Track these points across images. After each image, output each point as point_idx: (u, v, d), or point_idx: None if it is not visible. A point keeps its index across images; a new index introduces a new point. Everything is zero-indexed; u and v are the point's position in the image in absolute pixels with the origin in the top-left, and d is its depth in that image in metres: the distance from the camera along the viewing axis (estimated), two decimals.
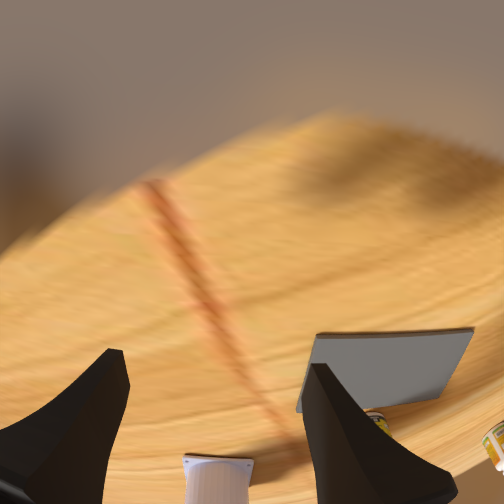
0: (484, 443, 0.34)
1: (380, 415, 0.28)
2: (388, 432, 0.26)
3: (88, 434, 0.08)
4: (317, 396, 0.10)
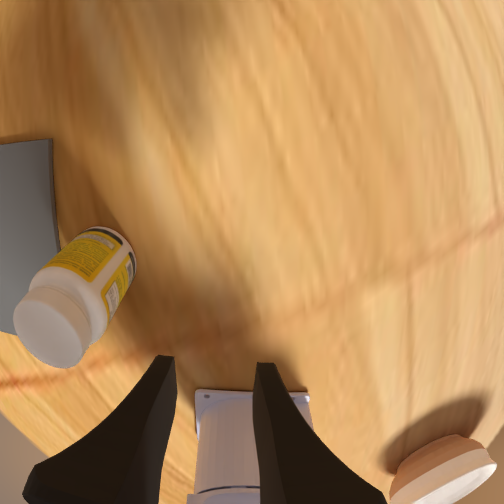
0: None
1: None
2: None
3: (150, 447, 0.08)
4: (259, 396, 0.10)
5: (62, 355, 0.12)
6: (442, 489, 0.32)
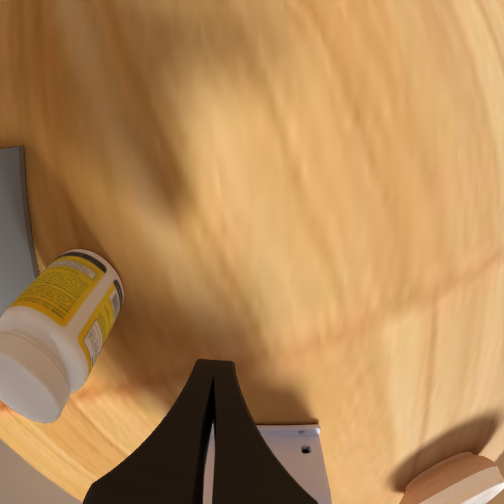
0: None
1: None
2: None
3: (201, 453, 0.08)
4: None
5: (37, 411, 0.09)
6: None
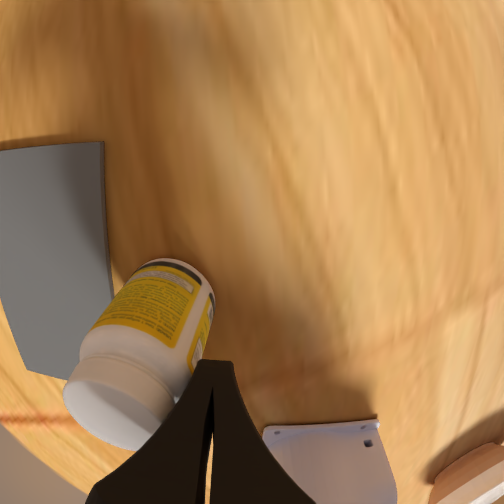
0: None
1: None
2: None
3: (203, 453, 0.08)
4: (212, 394, 0.10)
5: (135, 441, 0.09)
6: None
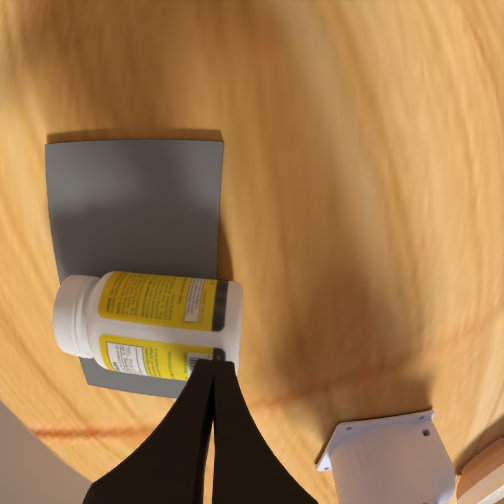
0: None
1: None
2: None
3: (201, 453, 0.08)
4: None
5: None
6: None
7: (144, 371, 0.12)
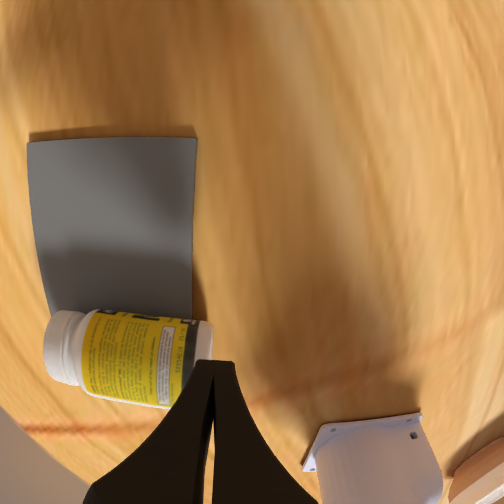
0: None
1: (199, 329, 0.14)
2: (150, 329, 0.14)
3: (201, 453, 0.08)
4: None
5: None
6: None
7: None
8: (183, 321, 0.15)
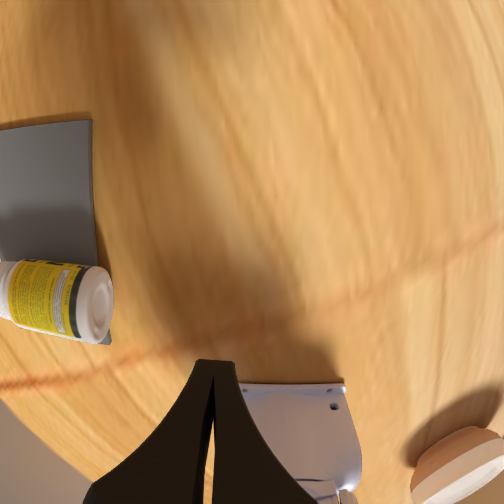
0: None
1: (87, 271, 0.17)
2: (53, 271, 0.16)
3: (201, 453, 0.08)
4: None
5: None
6: (459, 481, 0.32)
7: None
8: (80, 266, 0.17)
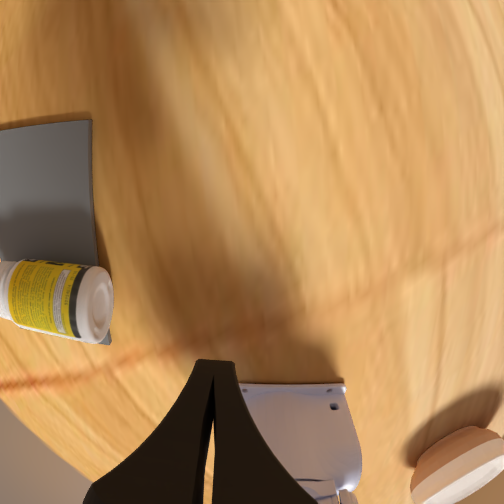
0: None
1: (87, 271, 0.17)
2: (53, 271, 0.16)
3: (201, 453, 0.08)
4: None
5: None
6: (459, 481, 0.32)
7: None
8: (79, 266, 0.17)
